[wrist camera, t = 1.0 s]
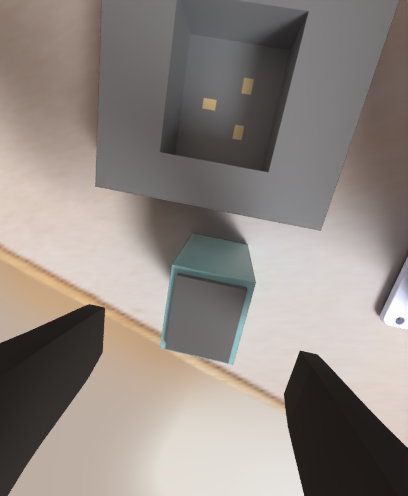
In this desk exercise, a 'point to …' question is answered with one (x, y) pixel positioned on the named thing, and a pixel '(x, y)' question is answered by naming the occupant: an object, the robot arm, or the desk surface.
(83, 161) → the desk surface
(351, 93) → the socket
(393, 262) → the desk surface
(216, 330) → the plug
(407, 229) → the desk surface
